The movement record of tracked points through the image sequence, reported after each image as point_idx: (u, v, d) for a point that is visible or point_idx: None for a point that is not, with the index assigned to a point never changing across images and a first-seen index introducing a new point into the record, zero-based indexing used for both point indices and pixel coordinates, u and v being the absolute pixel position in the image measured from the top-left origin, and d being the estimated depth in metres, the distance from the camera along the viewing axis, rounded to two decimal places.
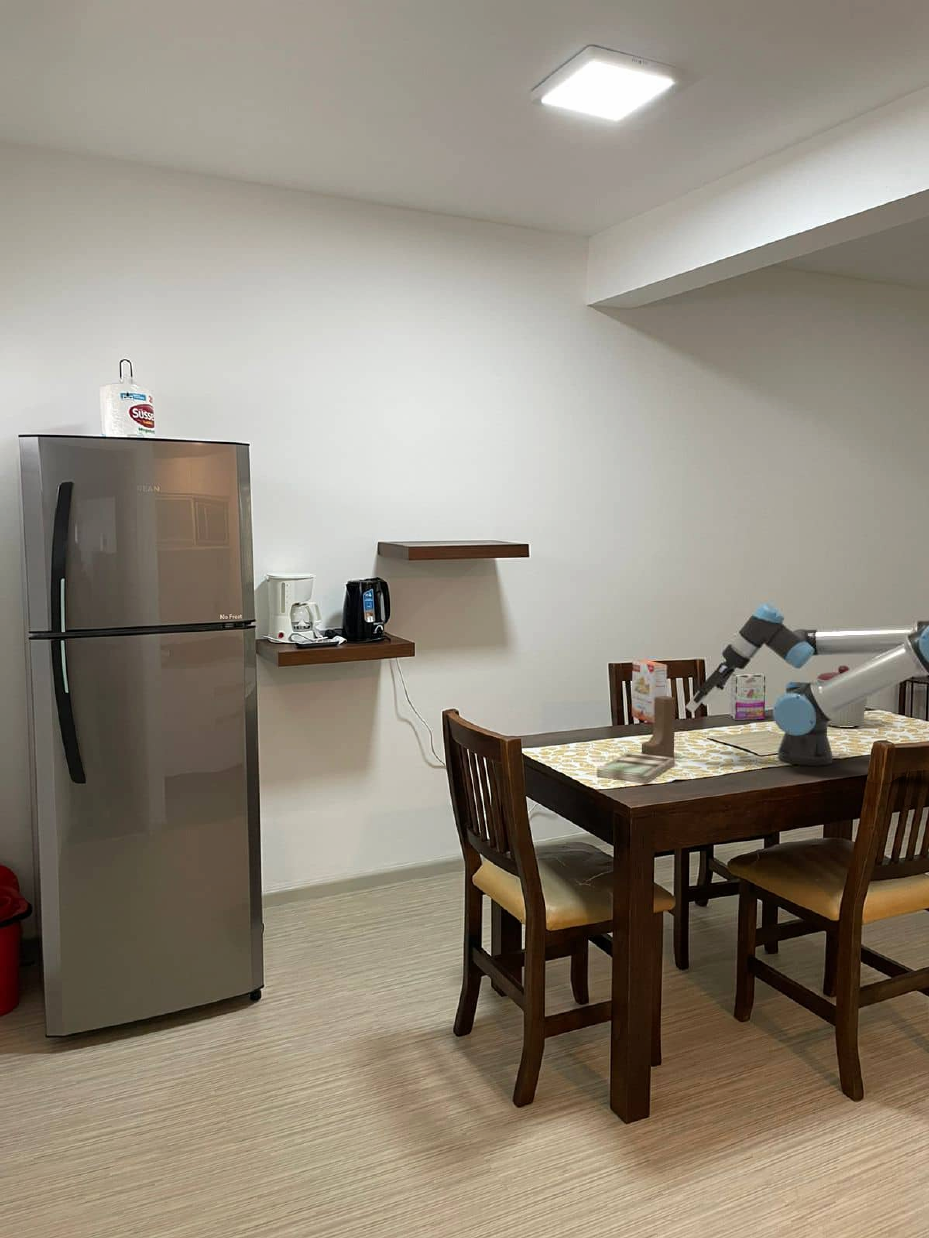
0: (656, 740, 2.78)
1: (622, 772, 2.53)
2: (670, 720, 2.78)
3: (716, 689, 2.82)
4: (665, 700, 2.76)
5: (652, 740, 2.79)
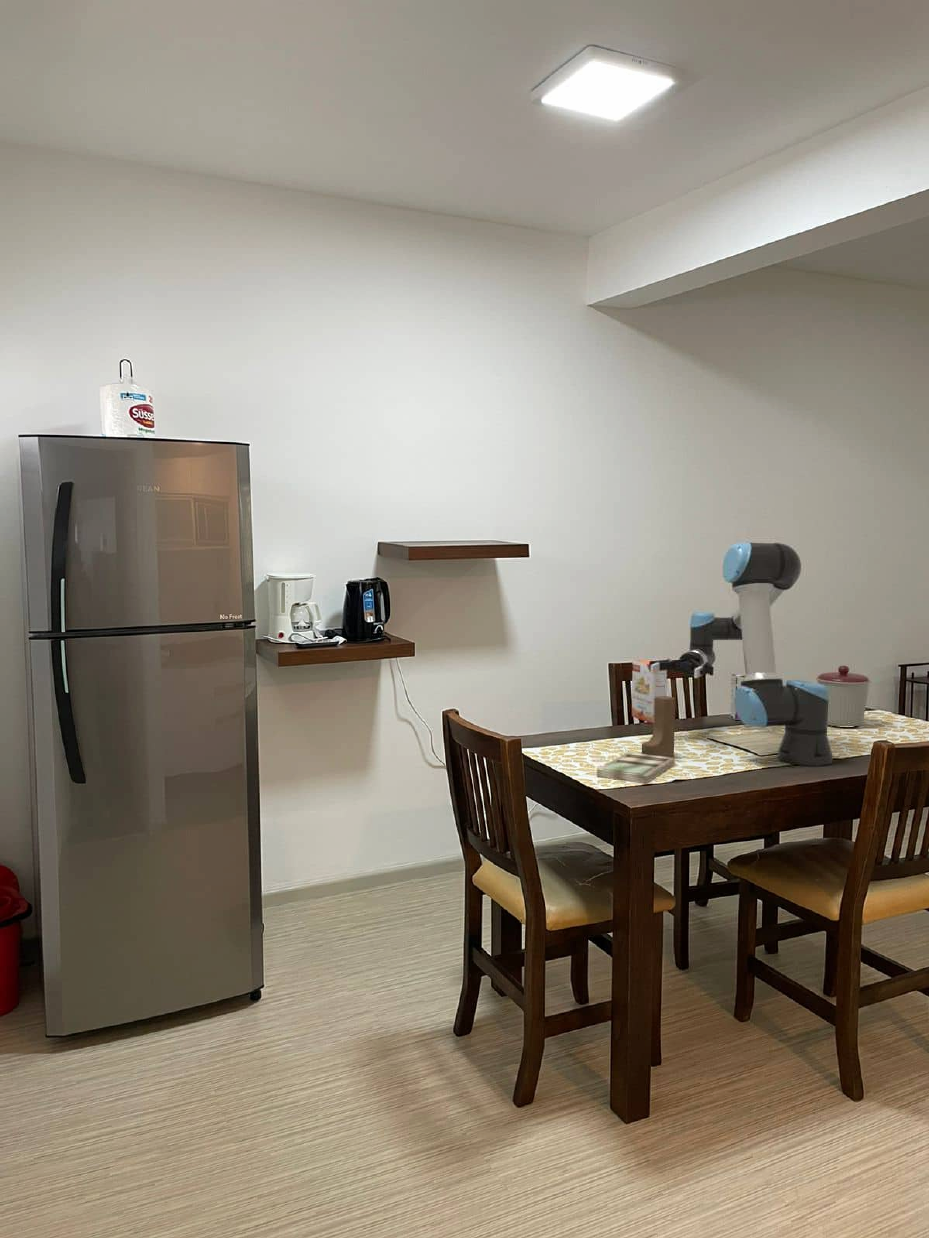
0: (656, 740, 2.78)
1: (622, 772, 2.53)
2: (670, 720, 2.78)
3: None
4: (665, 700, 2.76)
5: (652, 740, 2.79)
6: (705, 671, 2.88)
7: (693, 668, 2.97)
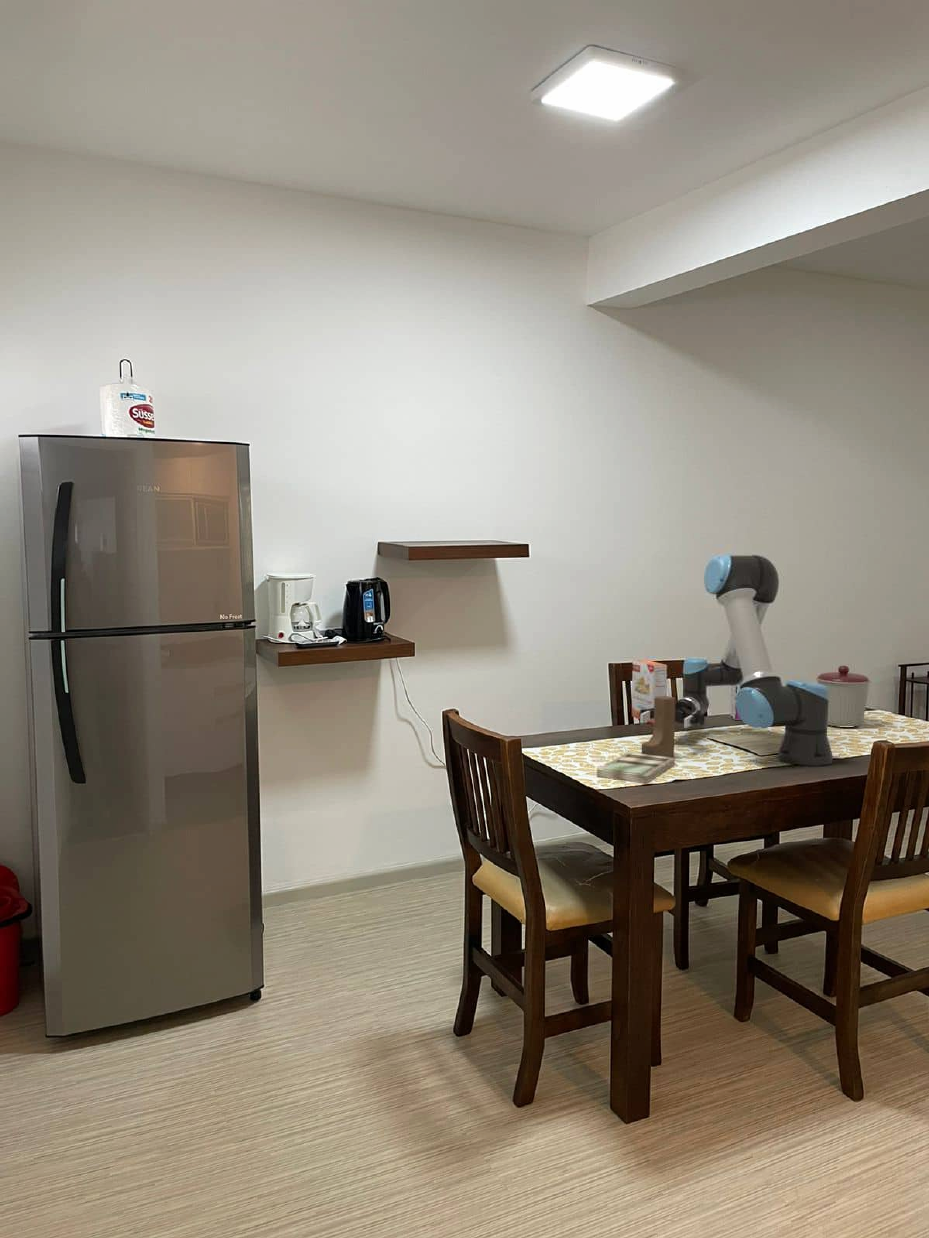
0: (656, 740, 2.78)
1: (622, 772, 2.53)
2: (670, 720, 2.78)
3: None
4: (665, 700, 2.76)
5: (652, 740, 2.79)
6: (695, 720, 2.85)
7: (684, 716, 2.93)
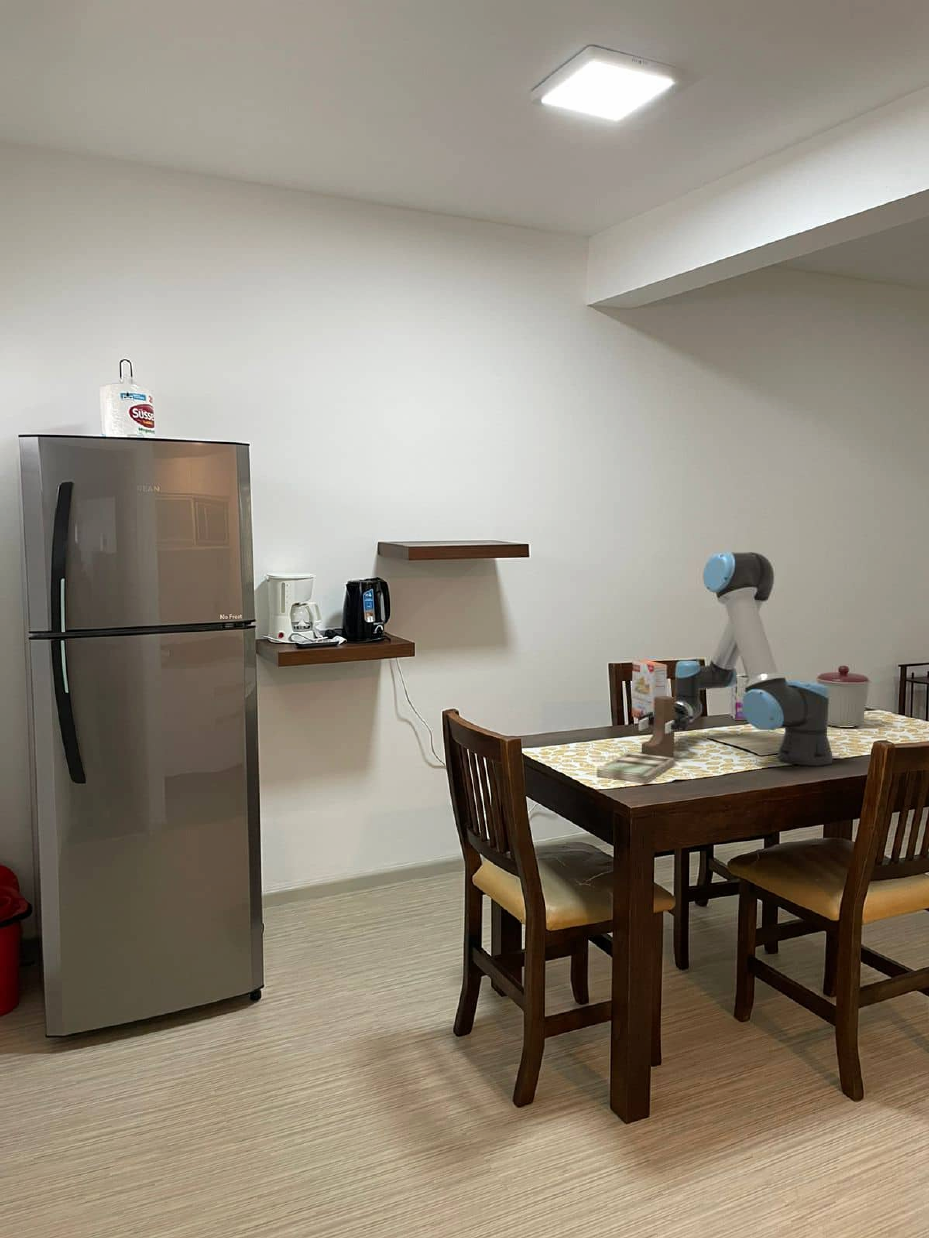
0: (656, 739, 2.78)
1: (622, 772, 2.53)
2: (670, 720, 2.78)
3: None
4: (665, 700, 2.76)
5: (652, 740, 2.79)
6: (677, 725, 2.76)
7: None
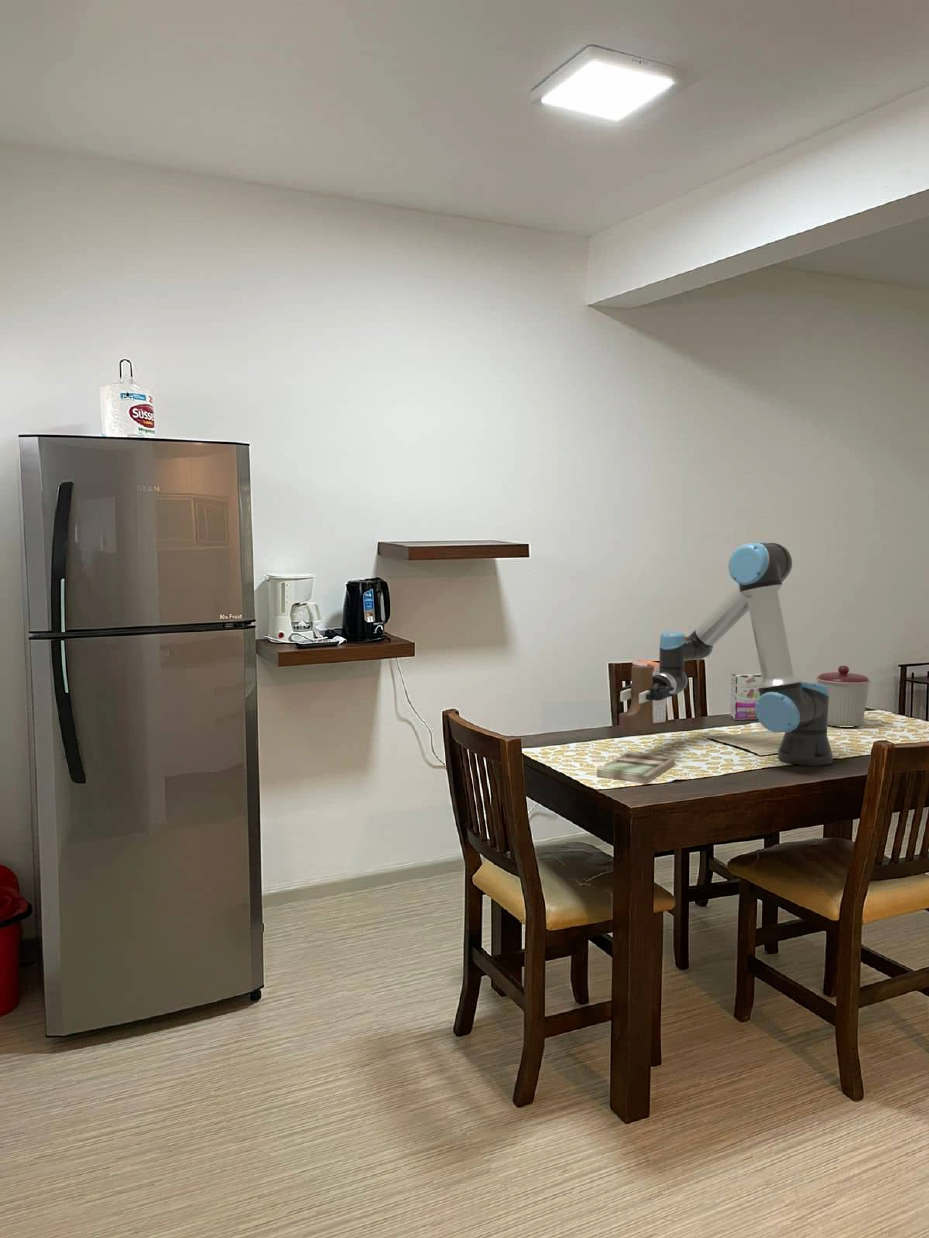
0: (634, 710, 2.70)
1: (622, 772, 2.53)
2: (648, 689, 2.70)
3: None
4: (642, 668, 2.69)
5: (630, 710, 2.71)
6: (652, 696, 2.68)
7: None
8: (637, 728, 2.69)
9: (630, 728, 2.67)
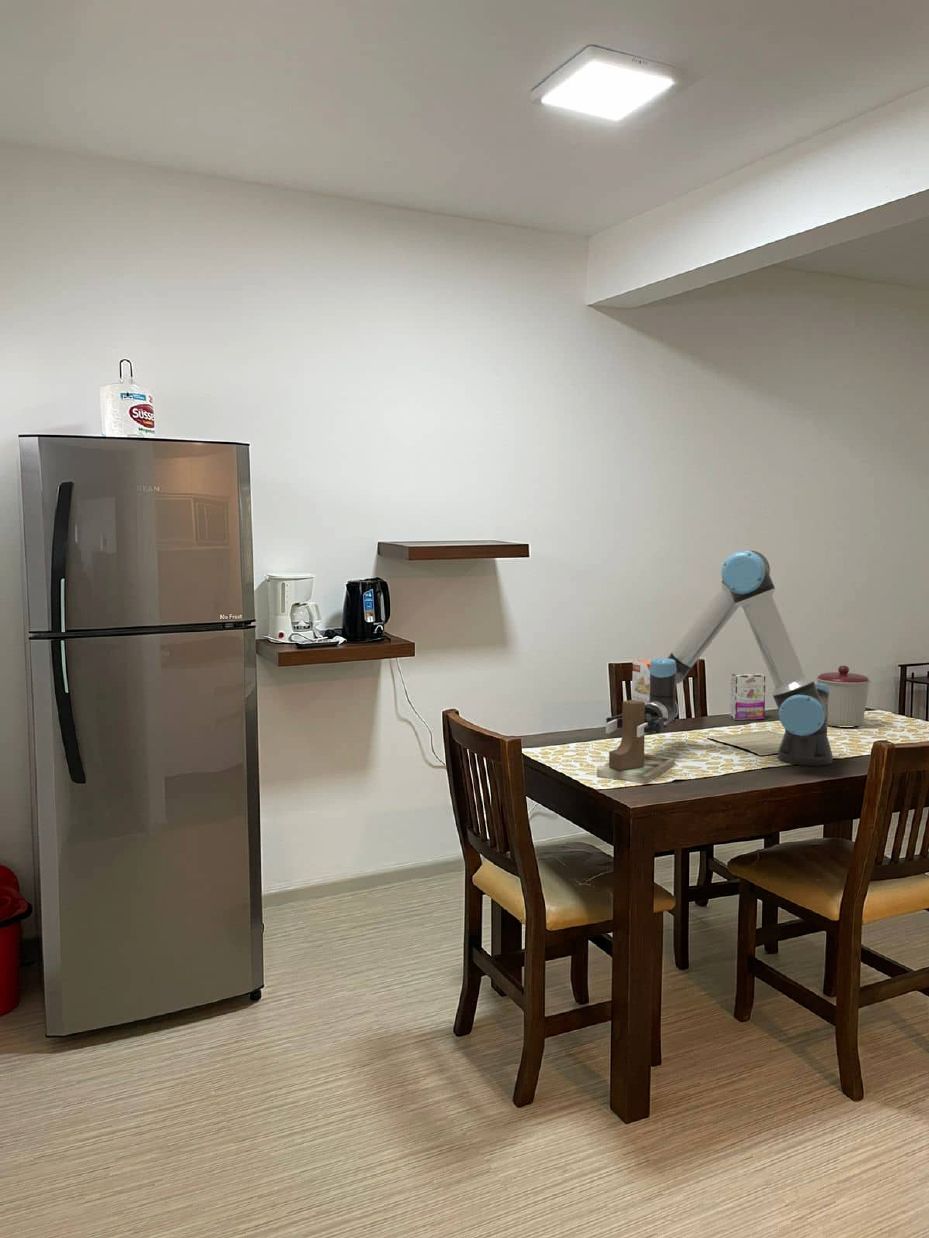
0: (625, 748, 2.56)
1: (622, 772, 2.53)
2: None
3: None
4: (634, 705, 2.55)
5: (620, 748, 2.57)
6: (650, 728, 2.54)
7: None
8: (628, 767, 2.55)
9: (621, 768, 2.54)
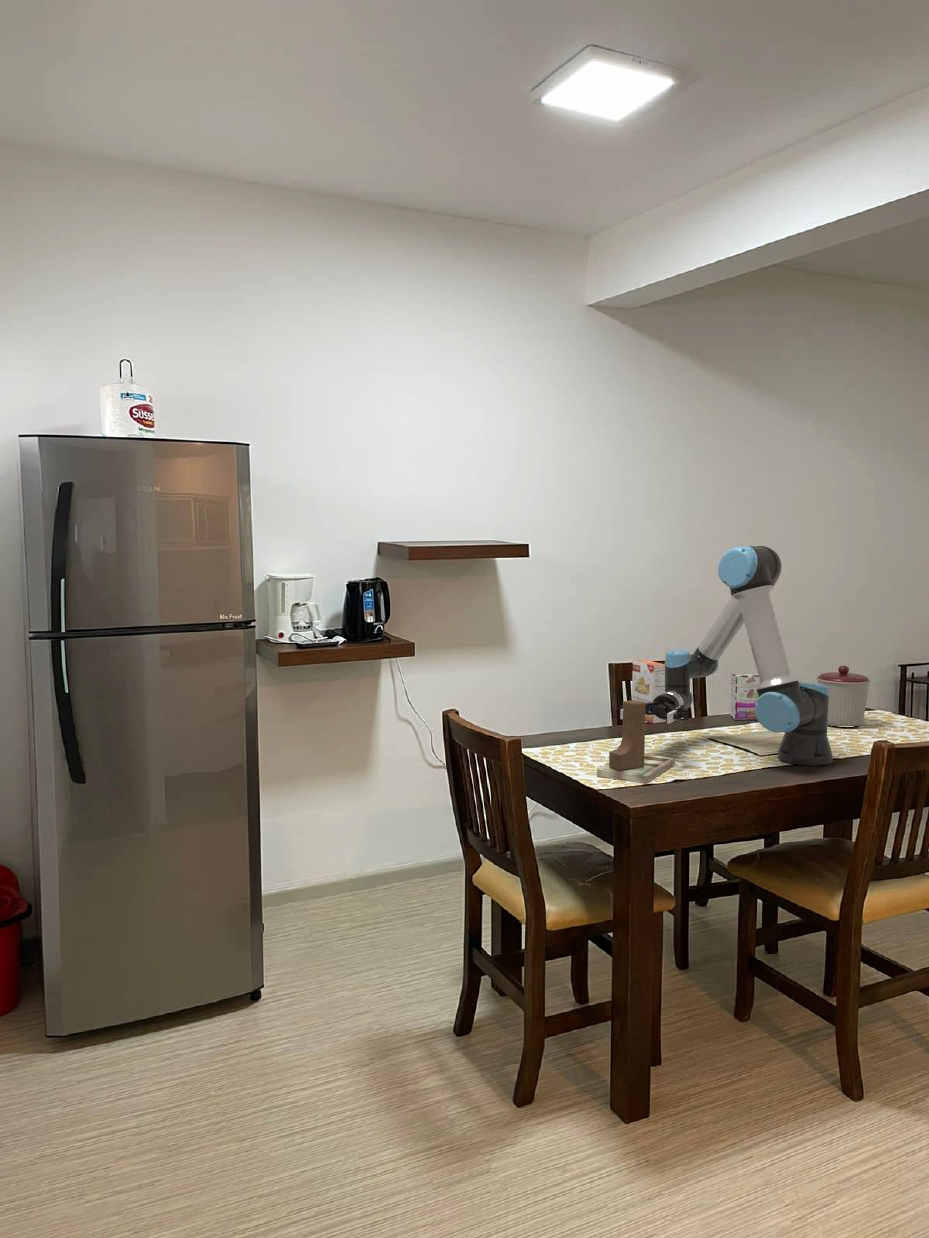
0: (625, 748, 2.56)
1: (622, 772, 2.53)
2: (640, 726, 2.56)
3: None
4: (634, 705, 2.55)
5: (620, 748, 2.57)
6: (679, 715, 2.66)
7: (667, 712, 2.75)
8: (628, 767, 2.55)
9: (621, 768, 2.54)
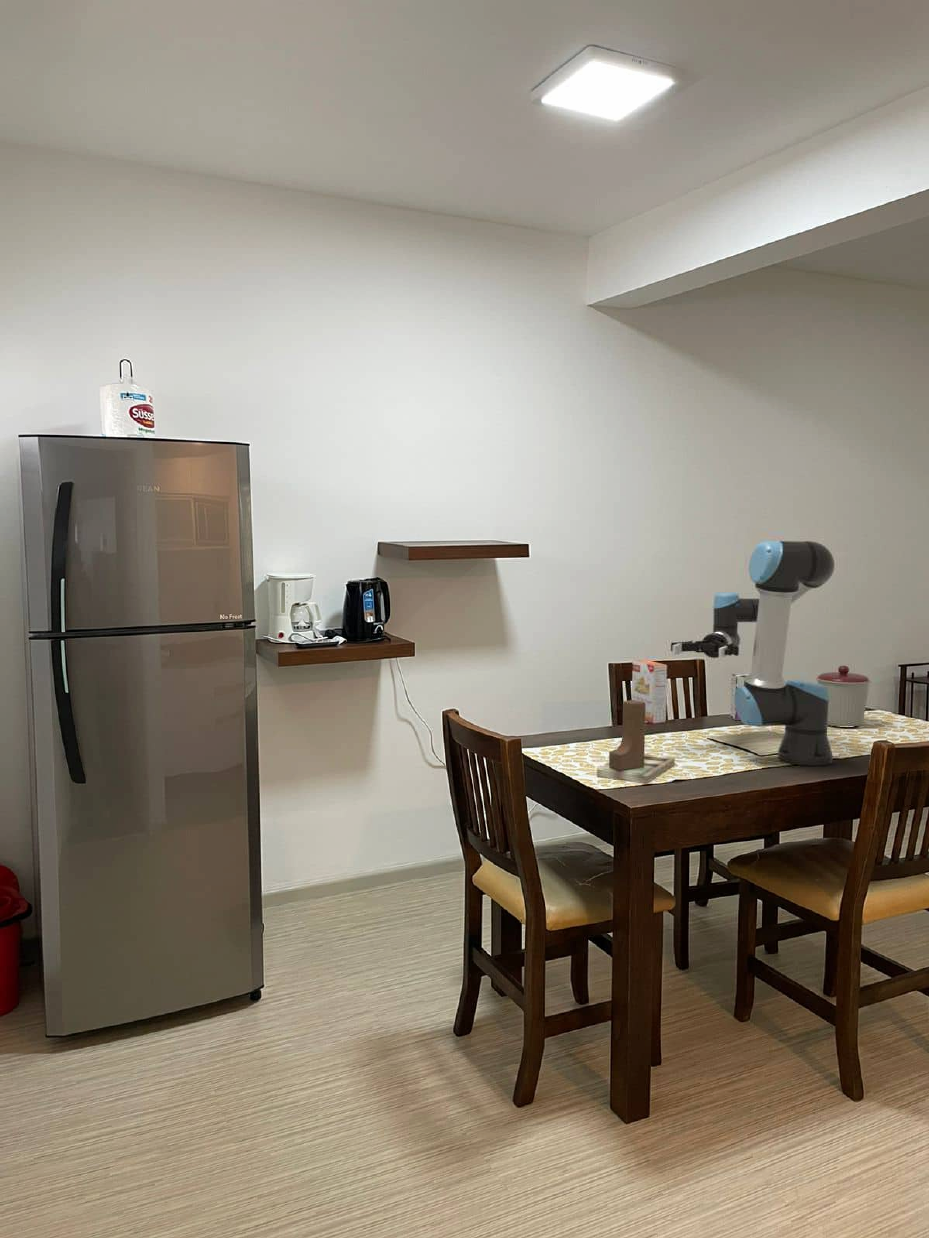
0: (625, 748, 2.56)
1: (622, 772, 2.53)
2: (640, 726, 2.56)
3: None
4: (634, 705, 2.55)
5: (620, 748, 2.57)
6: (730, 651, 2.75)
7: (717, 649, 2.83)
8: (628, 767, 2.55)
9: (621, 768, 2.54)
